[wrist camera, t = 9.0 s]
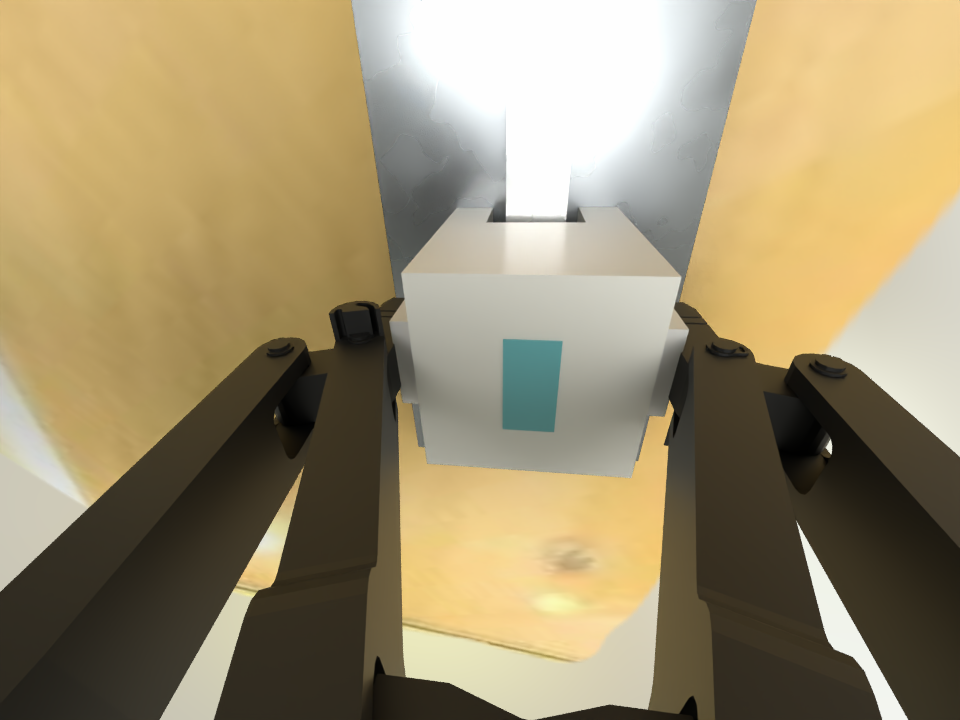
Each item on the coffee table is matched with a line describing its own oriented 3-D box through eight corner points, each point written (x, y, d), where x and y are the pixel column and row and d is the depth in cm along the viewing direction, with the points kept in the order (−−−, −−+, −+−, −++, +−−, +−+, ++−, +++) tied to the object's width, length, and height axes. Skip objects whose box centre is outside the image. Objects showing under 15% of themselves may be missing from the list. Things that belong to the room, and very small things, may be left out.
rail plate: (422, 434, 23) (409, 473, 21) (357, -32, 13) (313, -68, 10) (634, 447, 22) (646, 491, 19) (758, -64, 11) (823, -115, 9)
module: (464, 343, 18) (426, 464, 12) (456, 207, 15) (400, 273, 9) (596, 348, 18) (631, 479, 11) (617, 207, 14) (682, 277, 8)
